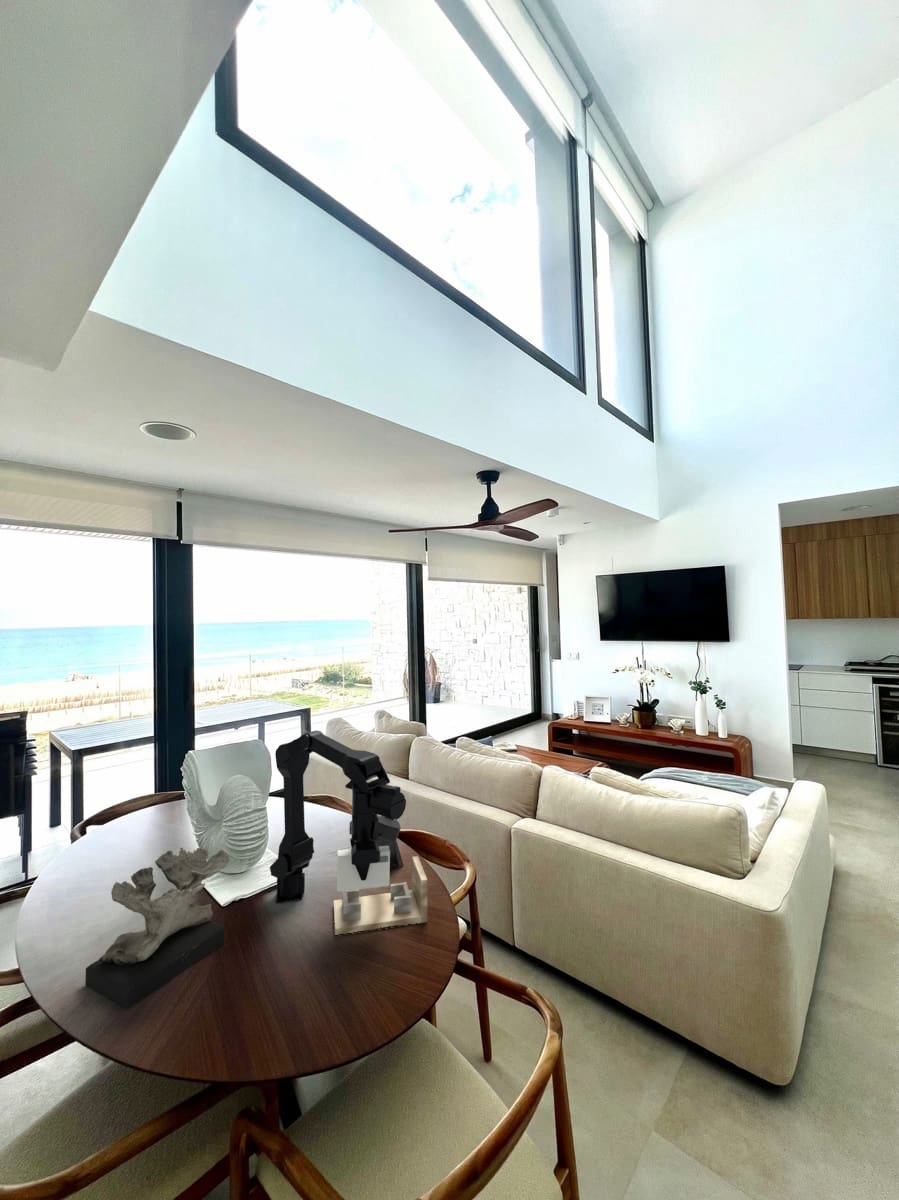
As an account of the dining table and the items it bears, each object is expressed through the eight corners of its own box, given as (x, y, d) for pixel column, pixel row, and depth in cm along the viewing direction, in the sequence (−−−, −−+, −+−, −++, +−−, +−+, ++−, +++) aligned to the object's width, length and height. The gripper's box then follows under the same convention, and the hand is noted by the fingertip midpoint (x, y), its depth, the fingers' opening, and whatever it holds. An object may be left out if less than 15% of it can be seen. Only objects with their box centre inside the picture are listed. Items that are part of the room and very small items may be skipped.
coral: (198, 917, 121) (200, 827, 121) (257, 944, 111) (259, 846, 112) (82, 984, 99) (86, 874, 99) (144, 1024, 89) (147, 901, 90)
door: (337, 893, 114) (337, 857, 114) (336, 884, 117) (337, 850, 118) (389, 887, 116) (390, 852, 117) (388, 879, 120) (388, 845, 120)
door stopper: (379, 878, 139) (379, 834, 140) (366, 870, 144) (366, 828, 144) (403, 866, 146) (404, 824, 146) (390, 859, 150) (390, 819, 150)
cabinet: (335, 936, 114) (335, 891, 114) (333, 906, 125) (334, 866, 126) (427, 922, 119) (427, 879, 120) (417, 894, 131) (417, 856, 131)
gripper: (403, 822, 111) (402, 894, 110) (393, 793, 129) (392, 854, 128) (352, 826, 108) (351, 900, 108) (349, 796, 126) (348, 858, 126)
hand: (363, 876), depth 117 cm, fingers closed on door, 3 cm apart
